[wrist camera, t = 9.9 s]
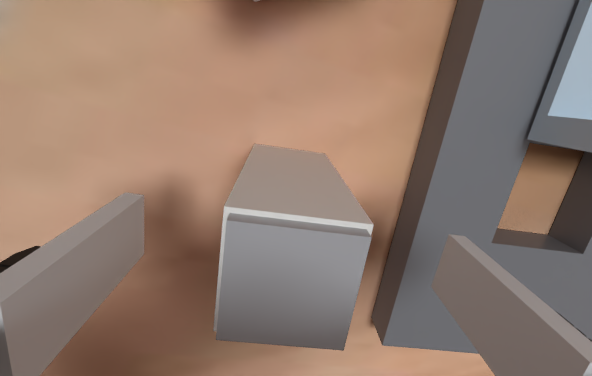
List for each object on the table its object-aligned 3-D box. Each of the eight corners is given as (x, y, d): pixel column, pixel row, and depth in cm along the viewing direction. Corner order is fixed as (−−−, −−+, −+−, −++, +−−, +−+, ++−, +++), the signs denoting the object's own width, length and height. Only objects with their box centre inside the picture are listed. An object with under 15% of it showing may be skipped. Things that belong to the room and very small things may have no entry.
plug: (247, 209, 23) (209, 343, 11) (254, 143, 21) (220, 213, 9) (313, 217, 23) (347, 355, 11) (325, 153, 22) (378, 232, 10)
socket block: (371, 317, 26) (382, 345, 23) (466, -34, 19) (500, -56, 16) (562, 335, 28) (594, 363, 25) (723, 19, 20) (796, 7, 17)
